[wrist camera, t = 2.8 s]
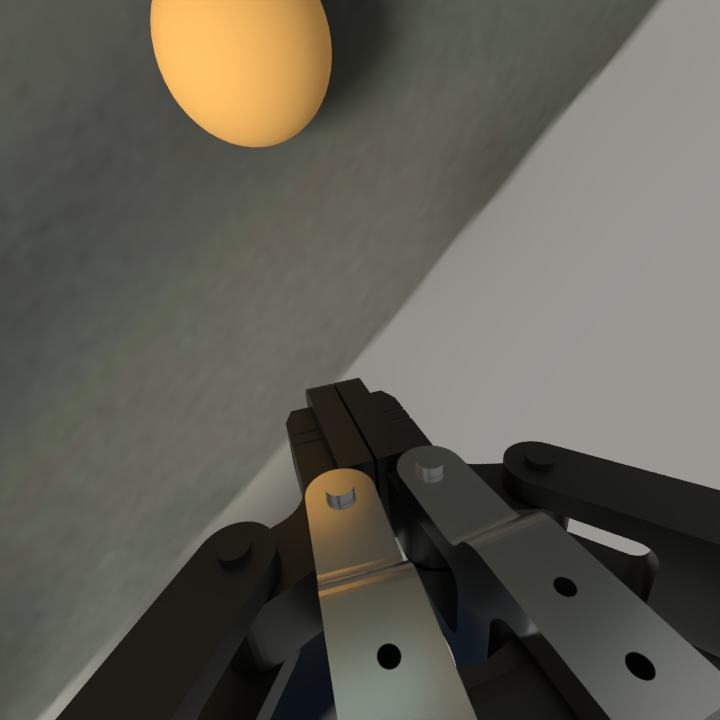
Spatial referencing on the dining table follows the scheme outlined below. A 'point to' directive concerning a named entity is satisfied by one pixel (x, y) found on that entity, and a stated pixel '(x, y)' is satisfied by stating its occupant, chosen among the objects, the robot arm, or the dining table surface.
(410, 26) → the dining table surface
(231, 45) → the ball
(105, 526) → the dining table surface
